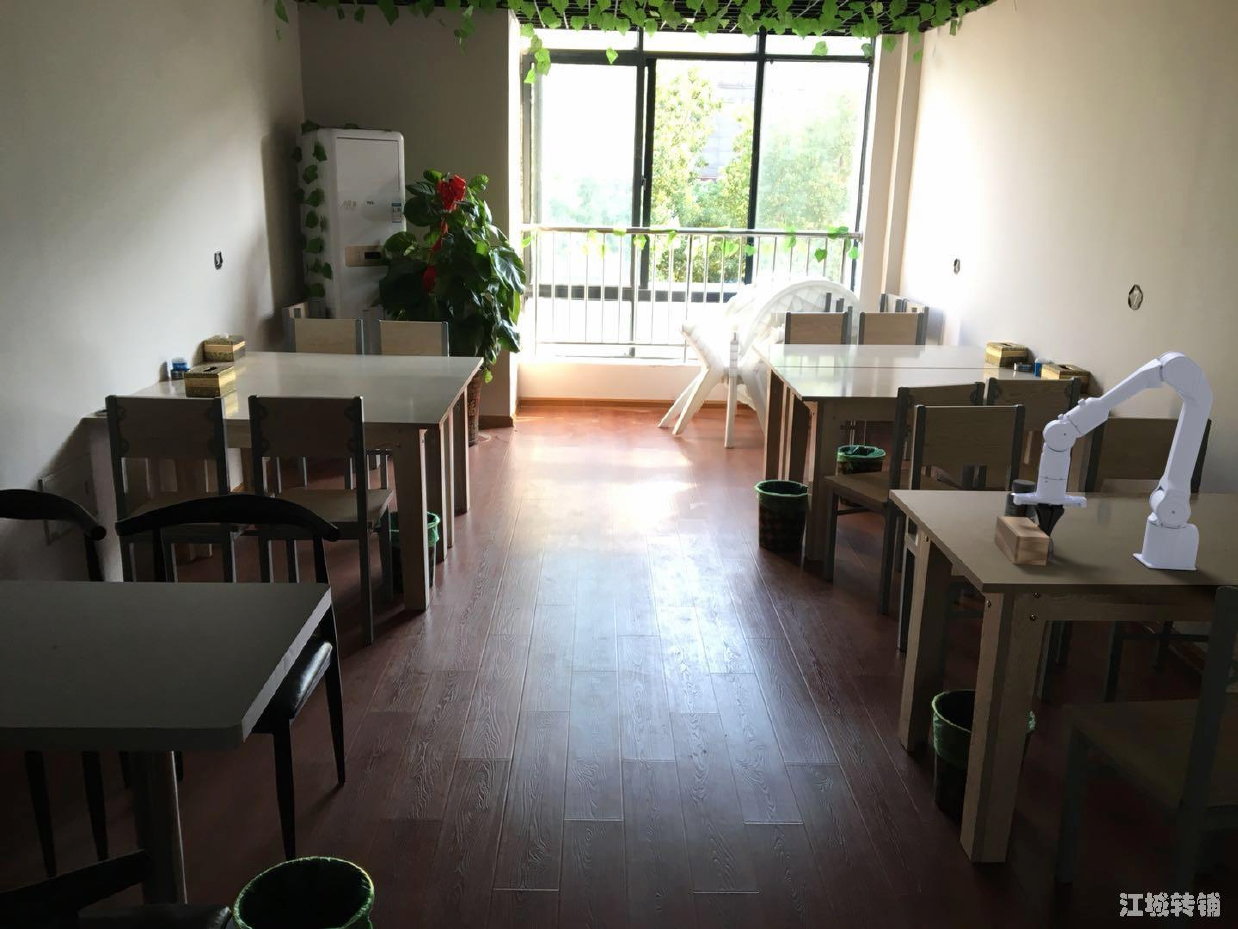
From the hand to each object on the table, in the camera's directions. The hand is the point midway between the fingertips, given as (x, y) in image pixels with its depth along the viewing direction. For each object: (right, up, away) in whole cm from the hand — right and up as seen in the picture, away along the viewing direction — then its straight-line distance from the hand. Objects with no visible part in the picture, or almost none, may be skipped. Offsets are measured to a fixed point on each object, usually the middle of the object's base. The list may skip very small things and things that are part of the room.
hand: (1044, 537), depth 214 cm
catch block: (-7, -3, -3) cm, 8 cm away
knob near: (-6, -4, -7) cm, 10 cm away
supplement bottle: (-1, 0, +12) cm, 12 cm away
